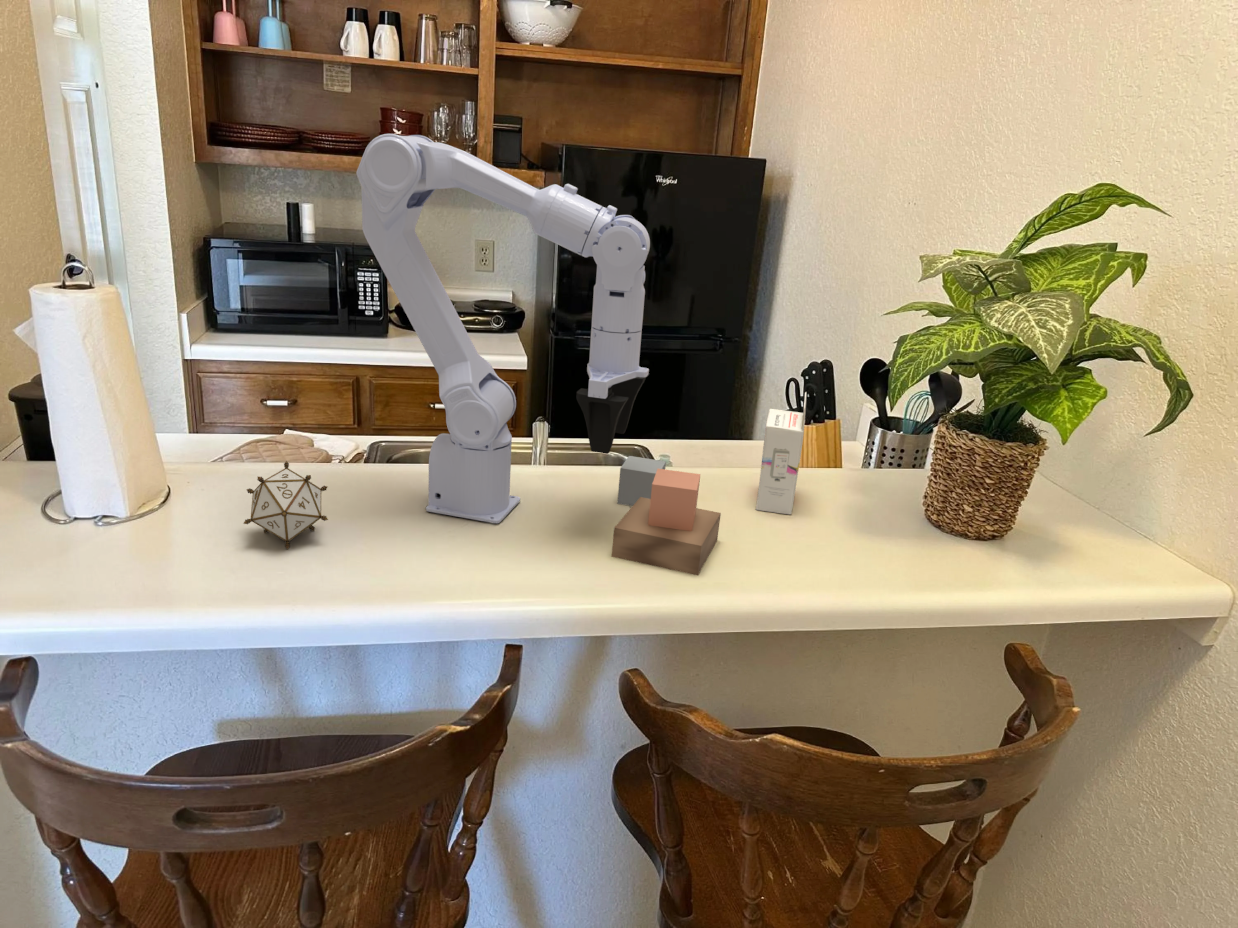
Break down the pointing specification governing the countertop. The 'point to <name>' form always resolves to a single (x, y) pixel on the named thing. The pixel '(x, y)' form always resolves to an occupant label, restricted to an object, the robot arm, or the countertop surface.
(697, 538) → the walnut block
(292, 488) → the game die
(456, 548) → the countertop surface
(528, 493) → the countertop surface
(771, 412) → the ink cartridge box
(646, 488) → the grey cube
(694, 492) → the salmon pink cube
